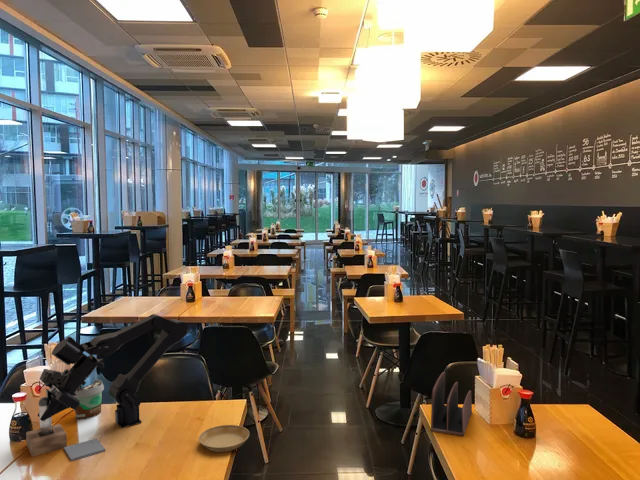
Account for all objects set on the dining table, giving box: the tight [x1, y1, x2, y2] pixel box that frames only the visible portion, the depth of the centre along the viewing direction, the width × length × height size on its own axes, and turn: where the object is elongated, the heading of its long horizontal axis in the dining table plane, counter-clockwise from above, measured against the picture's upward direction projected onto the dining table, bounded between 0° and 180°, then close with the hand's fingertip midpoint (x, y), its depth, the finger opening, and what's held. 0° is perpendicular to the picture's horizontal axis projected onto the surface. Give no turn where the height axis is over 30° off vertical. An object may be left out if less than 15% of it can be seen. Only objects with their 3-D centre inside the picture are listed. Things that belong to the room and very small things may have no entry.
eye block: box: [25, 423, 68, 458], centre depth 146 cm, size 9×9×4 cm
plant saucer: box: [198, 424, 250, 453], centre depth 146 cm, size 15×15×3 cm
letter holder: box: [430, 371, 473, 437], centre depth 160 cm, size 10×20×14 cm, turn 156°
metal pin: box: [38, 396, 53, 437], centre depth 145 cm, size 3×3×13 cm
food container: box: [74, 379, 105, 420], centre depth 169 cm, size 12×6×10 cm, turn 168°
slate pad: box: [63, 438, 106, 462], centre depth 143 cm, size 9×9×1 cm
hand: (40, 418), depth 144 cm, fingers closed on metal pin, 3 cm apart
